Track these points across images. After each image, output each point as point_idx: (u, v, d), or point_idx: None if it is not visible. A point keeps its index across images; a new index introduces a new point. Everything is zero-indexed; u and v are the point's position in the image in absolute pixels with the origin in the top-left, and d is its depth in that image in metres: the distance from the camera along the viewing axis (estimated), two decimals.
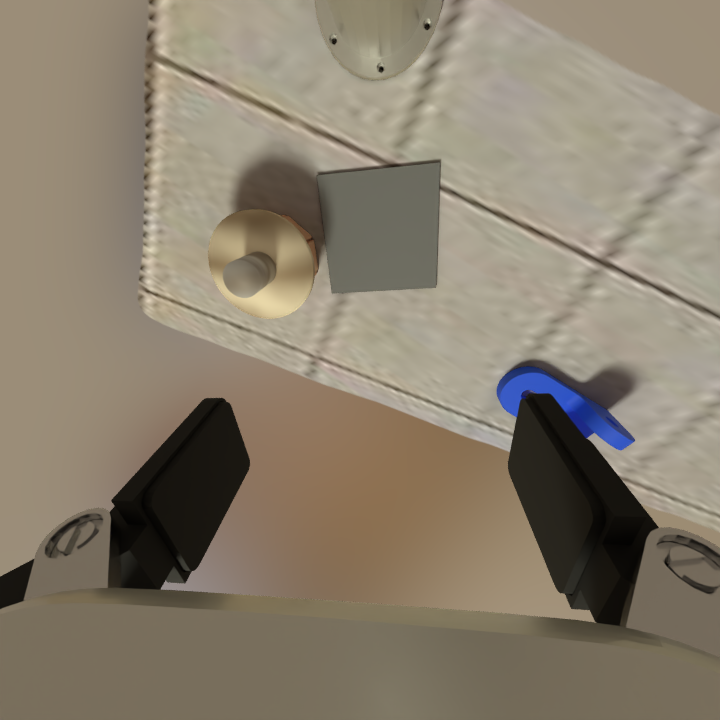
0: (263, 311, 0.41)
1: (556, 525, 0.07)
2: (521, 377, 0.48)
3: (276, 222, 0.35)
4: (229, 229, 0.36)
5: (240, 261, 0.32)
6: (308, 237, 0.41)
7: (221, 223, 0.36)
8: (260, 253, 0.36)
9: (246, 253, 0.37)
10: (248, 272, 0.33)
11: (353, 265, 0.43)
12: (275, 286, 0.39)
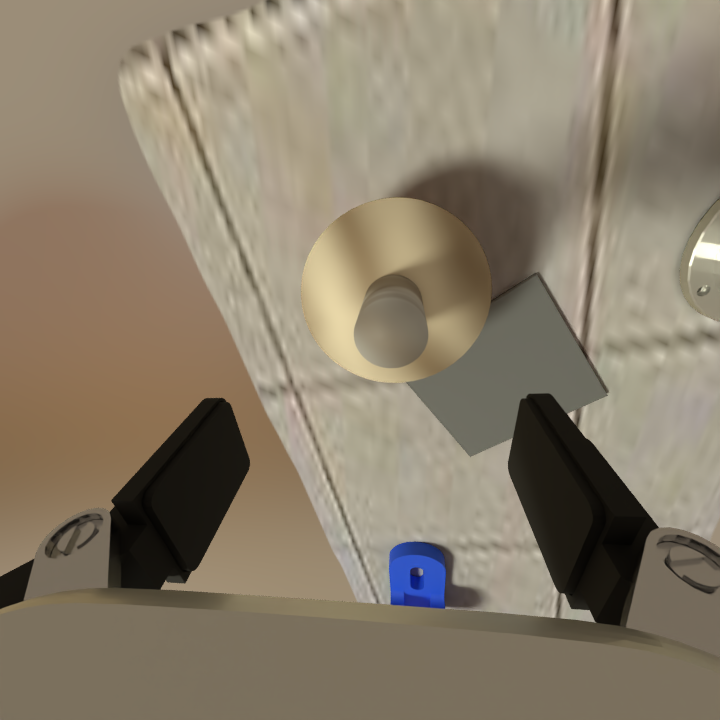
0: (327, 337, 0.23)
1: (556, 525, 0.07)
2: (430, 560, 0.44)
3: (481, 295, 0.21)
4: (427, 225, 0.19)
5: (424, 322, 0.16)
6: None
7: (430, 206, 0.18)
8: None
9: (403, 271, 0.20)
10: (412, 342, 0.17)
11: (443, 372, 0.31)
12: None
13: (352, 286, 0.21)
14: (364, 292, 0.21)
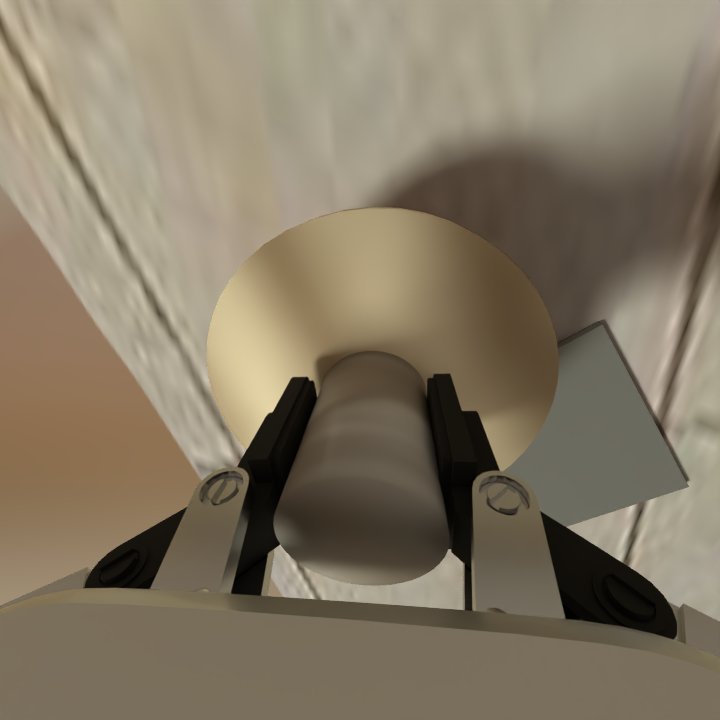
0: None
1: None
2: None
3: (537, 389, 0.11)
4: (439, 264, 0.09)
5: (440, 519, 0.07)
6: None
7: (445, 226, 0.09)
8: None
9: (392, 346, 0.11)
10: (411, 551, 0.07)
11: None
12: None
13: (299, 368, 0.12)
14: (321, 378, 0.12)
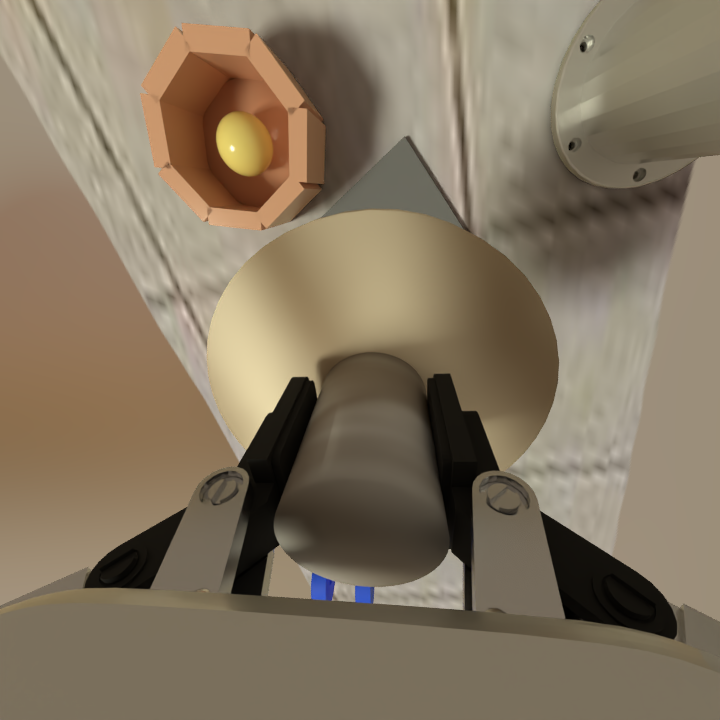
0: None
1: None
2: None
3: (537, 390, 0.11)
4: (439, 266, 0.09)
5: (440, 521, 0.07)
6: (320, 181, 0.25)
7: (445, 228, 0.09)
8: None
9: (392, 348, 0.11)
10: (411, 553, 0.07)
11: None
12: None
13: (299, 370, 0.12)
14: (321, 380, 0.12)
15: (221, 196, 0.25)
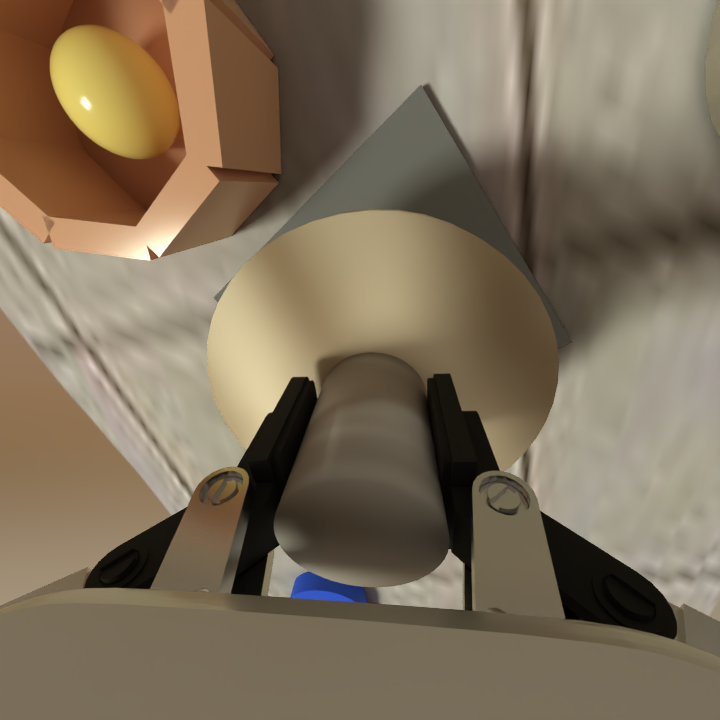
0: None
1: None
2: (340, 597, 0.32)
3: (537, 390, 0.11)
4: (439, 266, 0.09)
5: (440, 521, 0.07)
6: (269, 168, 0.14)
7: (445, 229, 0.09)
8: None
9: (392, 348, 0.11)
10: (411, 553, 0.07)
11: None
12: None
13: (299, 370, 0.12)
14: (321, 380, 0.12)
15: (96, 195, 0.14)
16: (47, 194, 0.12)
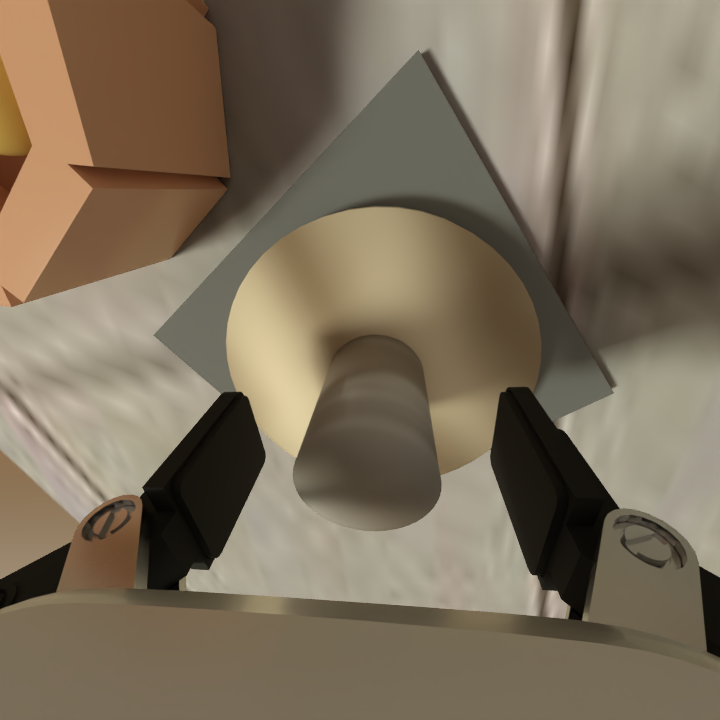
0: (276, 422, 0.15)
1: (529, 510, 0.07)
2: None
3: (522, 368, 0.12)
4: (434, 256, 0.11)
5: (433, 466, 0.08)
6: (206, 169, 0.10)
7: (439, 223, 0.10)
8: (424, 376, 0.12)
9: (392, 330, 0.12)
10: (409, 497, 0.08)
11: None
12: None
13: (309, 351, 0.13)
14: (329, 360, 0.13)
15: None
16: None
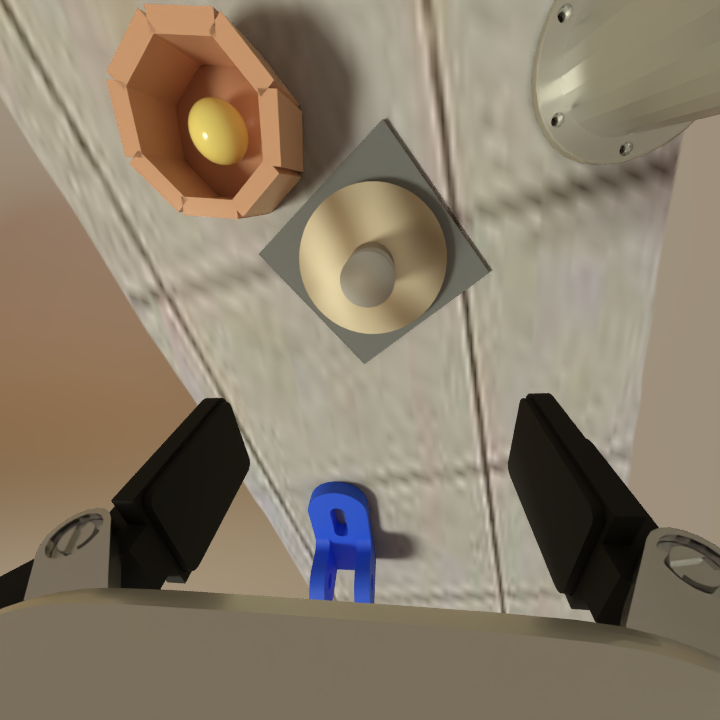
0: (321, 297, 0.29)
1: (556, 525, 0.07)
2: (347, 498, 0.42)
3: (439, 255, 0.26)
4: (393, 201, 0.25)
5: (391, 268, 0.22)
6: (298, 168, 0.24)
7: (394, 186, 0.24)
8: (393, 259, 0.26)
9: (378, 239, 0.26)
10: (383, 285, 0.23)
11: None
12: None
13: (339, 253, 0.27)
14: (348, 258, 0.27)
15: (198, 187, 0.24)
16: (180, 185, 0.23)
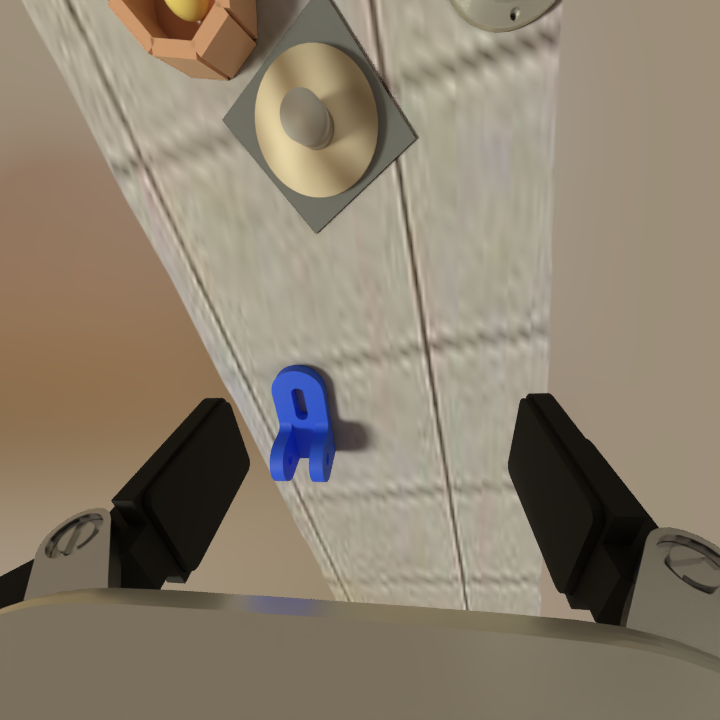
0: (275, 160, 0.34)
1: (556, 525, 0.07)
2: (306, 376, 0.47)
3: (371, 116, 0.32)
4: (330, 62, 0.30)
5: (319, 103, 0.27)
6: (251, 29, 0.29)
7: (330, 47, 0.29)
8: (331, 117, 0.31)
9: (319, 100, 0.31)
10: (315, 120, 0.28)
11: None
12: (309, 156, 0.34)
13: None
14: None
15: None
16: (150, 30, 0.27)
